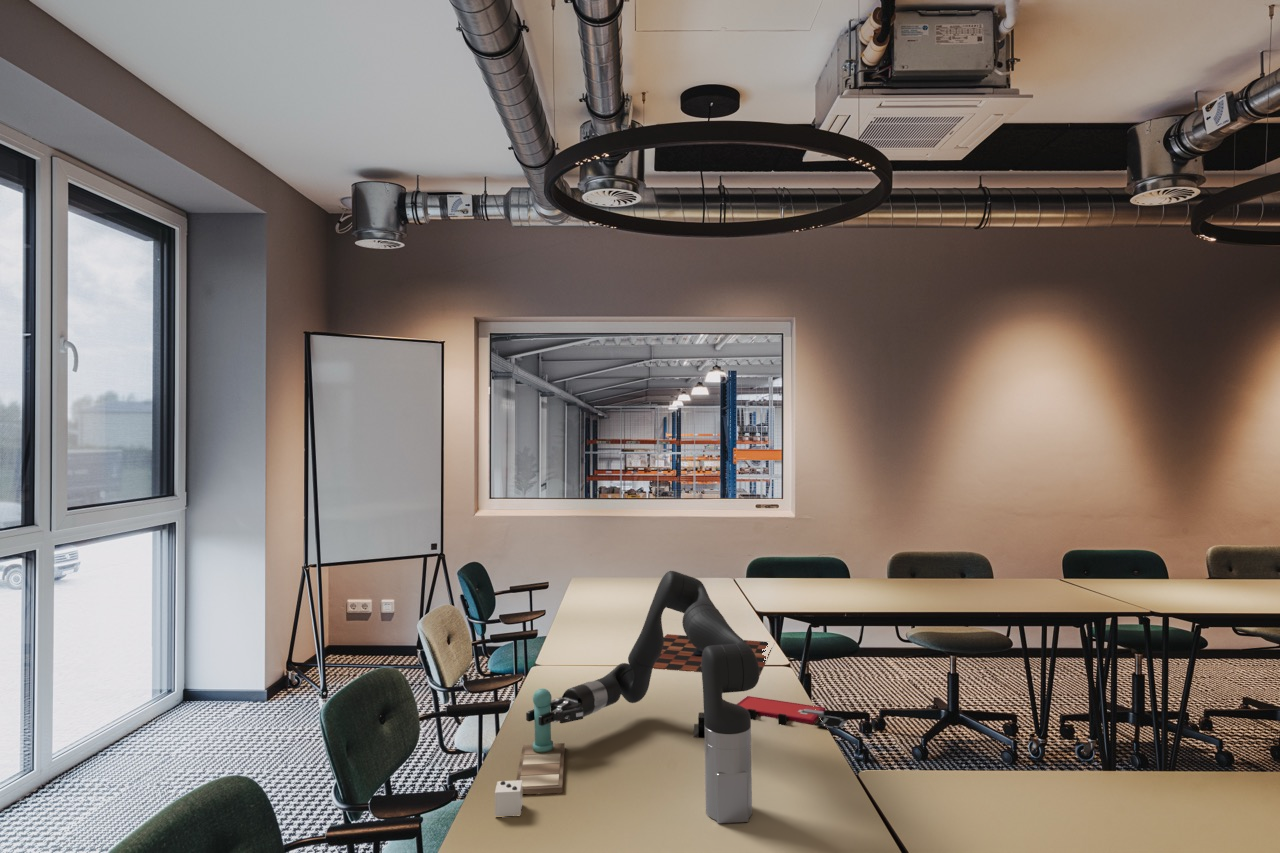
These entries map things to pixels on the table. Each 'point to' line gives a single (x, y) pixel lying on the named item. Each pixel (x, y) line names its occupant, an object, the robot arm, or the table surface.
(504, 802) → the die
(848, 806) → the table surface
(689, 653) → the chessboard
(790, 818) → the table surface
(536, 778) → the board
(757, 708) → the red board with handle
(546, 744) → the pawn
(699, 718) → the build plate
